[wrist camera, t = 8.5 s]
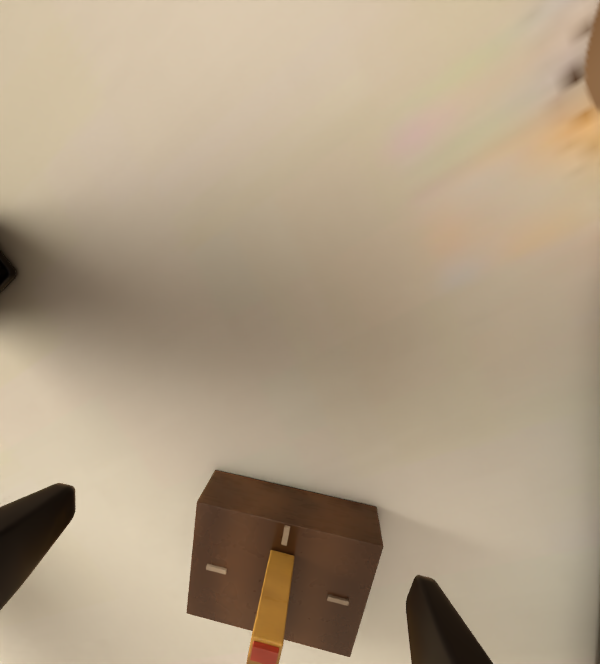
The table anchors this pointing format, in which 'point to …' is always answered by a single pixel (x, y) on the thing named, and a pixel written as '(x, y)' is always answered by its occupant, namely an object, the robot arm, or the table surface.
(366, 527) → the plate
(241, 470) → the table surface
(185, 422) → the table surface
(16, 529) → the robot arm
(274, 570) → the thumb turn
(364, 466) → the table surface
